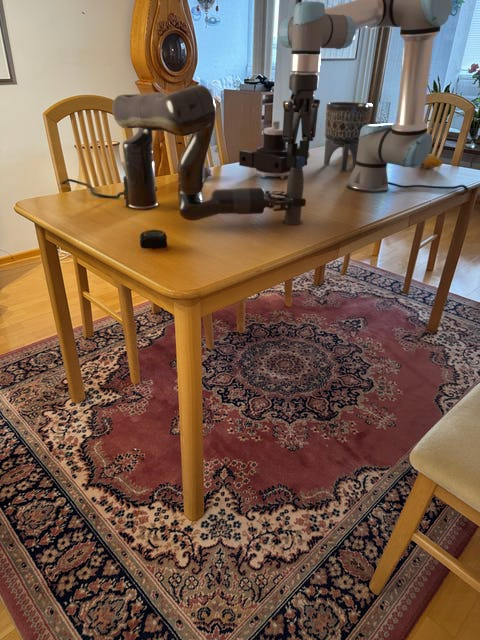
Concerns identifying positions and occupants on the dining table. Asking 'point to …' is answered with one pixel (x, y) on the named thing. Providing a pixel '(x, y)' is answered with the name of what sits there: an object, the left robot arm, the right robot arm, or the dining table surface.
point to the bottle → (294, 194)
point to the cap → (300, 161)
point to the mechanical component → (269, 154)
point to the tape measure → (153, 239)
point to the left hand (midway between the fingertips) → (302, 199)
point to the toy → (431, 162)
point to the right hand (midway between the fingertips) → (296, 165)
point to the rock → (207, 172)
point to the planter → (345, 129)
